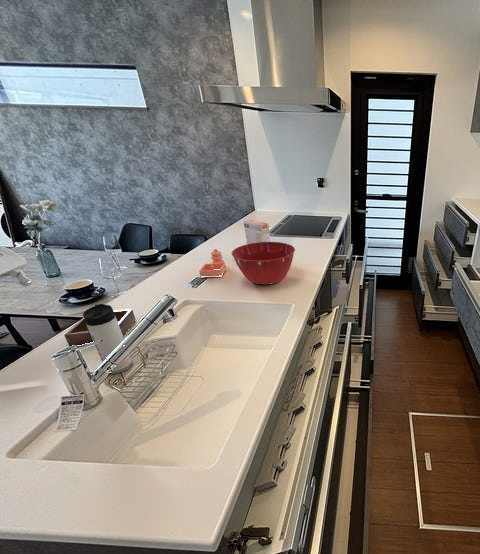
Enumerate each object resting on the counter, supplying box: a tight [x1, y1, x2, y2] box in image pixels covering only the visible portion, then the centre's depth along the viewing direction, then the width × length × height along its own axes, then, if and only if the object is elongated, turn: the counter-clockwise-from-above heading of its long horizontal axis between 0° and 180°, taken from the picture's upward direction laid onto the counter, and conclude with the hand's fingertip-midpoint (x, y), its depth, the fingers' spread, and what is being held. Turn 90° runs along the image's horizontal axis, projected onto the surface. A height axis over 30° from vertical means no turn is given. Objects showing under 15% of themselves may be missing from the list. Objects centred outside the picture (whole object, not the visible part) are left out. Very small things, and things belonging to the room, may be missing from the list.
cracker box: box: [243, 219, 271, 244], centre depth 173 cm, size 14×6×21 cm, turn 59°
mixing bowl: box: [231, 241, 296, 285], centre depth 146 cm, size 28×28×15 cm
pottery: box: [199, 248, 226, 278], centre depth 155 cm, size 18×10×10 cm, turn 11°
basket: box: [64, 308, 137, 348], centre depth 104 cm, size 14×14×5 cm
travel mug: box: [82, 303, 133, 375], centre depth 86 cm, size 6×7×20 cm
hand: (13, 292), depth 76 cm, fingers open, 8 cm apart
